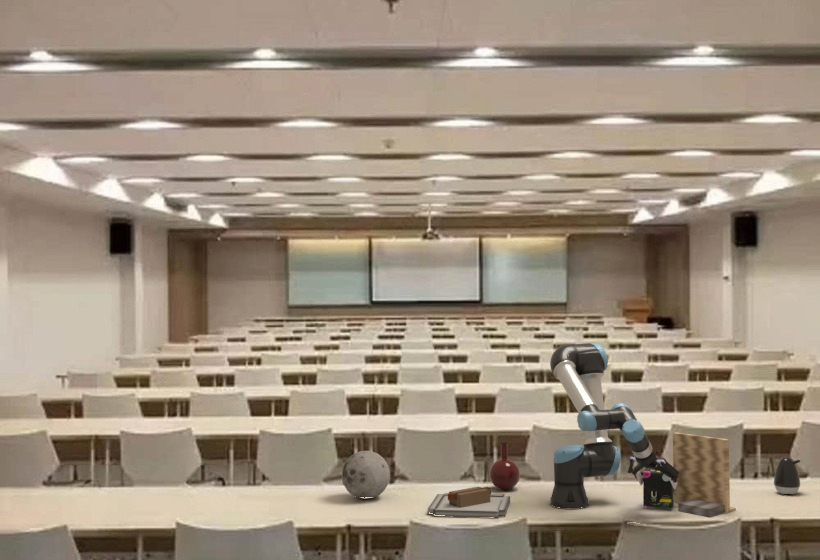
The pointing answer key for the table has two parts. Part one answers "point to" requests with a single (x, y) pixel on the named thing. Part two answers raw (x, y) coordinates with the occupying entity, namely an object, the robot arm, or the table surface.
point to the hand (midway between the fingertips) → (658, 484)
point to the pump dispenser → (787, 476)
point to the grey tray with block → (470, 503)
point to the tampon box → (657, 490)
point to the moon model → (365, 474)
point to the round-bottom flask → (504, 471)
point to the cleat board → (701, 474)
